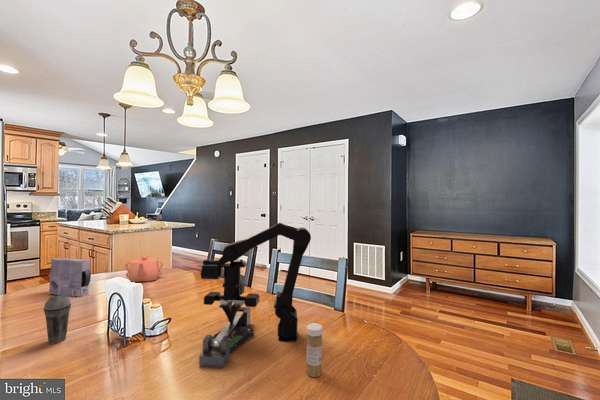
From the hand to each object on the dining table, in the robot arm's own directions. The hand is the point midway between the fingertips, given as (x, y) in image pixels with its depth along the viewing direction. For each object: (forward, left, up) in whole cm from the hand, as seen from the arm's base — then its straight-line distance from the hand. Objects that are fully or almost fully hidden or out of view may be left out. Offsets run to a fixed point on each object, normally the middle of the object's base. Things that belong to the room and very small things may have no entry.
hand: (231, 323), depth 102 cm
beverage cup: (+58, +9, -5) cm, 59 cm away
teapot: (+73, -59, -6) cm, 94 cm away
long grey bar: (0, +3, -1) cm, 3 cm away
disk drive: (0, +2, -6) cm, 6 cm away
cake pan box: (+94, -33, -6) cm, 100 cm away
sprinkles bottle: (-30, +17, -5) cm, 35 cm away
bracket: (0, +3, -5) cm, 6 cm away
